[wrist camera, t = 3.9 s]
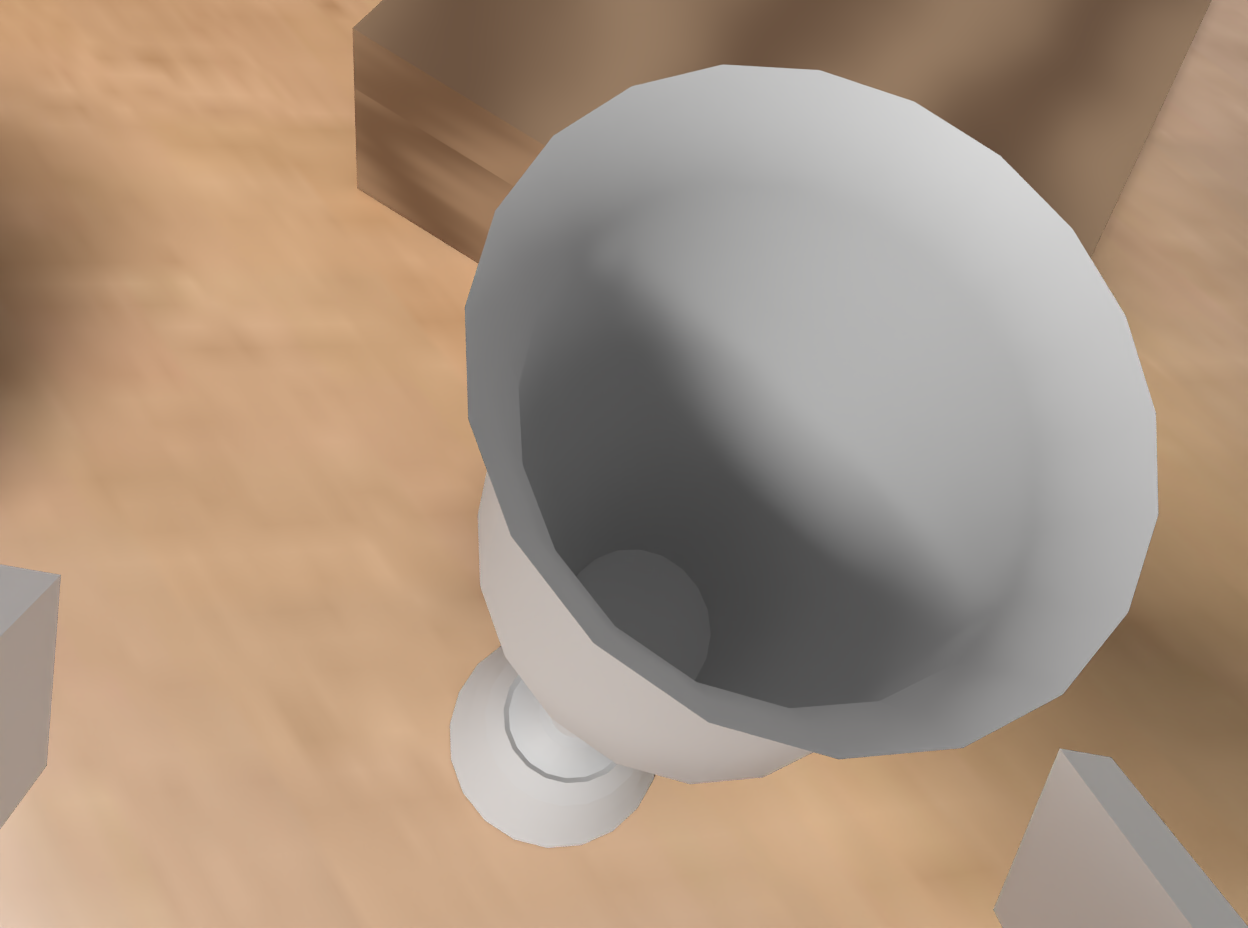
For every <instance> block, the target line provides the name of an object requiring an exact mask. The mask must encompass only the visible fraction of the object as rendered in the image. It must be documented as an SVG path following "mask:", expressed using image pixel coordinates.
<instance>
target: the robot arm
mask: <svg viewBox="0 0 1248 928" xmlns="http://www.w3.org/2000/svg"><path fill="white" fill-rule="evenodd" d="M60 579H61V575H58V574H52V573H47V572H41V571H35V570H29V569H24V568H18V567H12V566H6V565H1V564H0V829H1V827H2V826H3V825H4V823H5V822H6V821H7V819H8V818H9V816H10V815H11V814H12V812H13V811H14V810H15V808H16V807H17V805H18V804H19V803H20V801H21V800H22V799H23V797H24V796H25V795H26V793H27V792H28V790H29V789H30V788H31V786H32V785H33V784H34V782H35V781H36V780H37V778H38V777H39V775H40V774H41V773H42V771H43V770H44V769H45V767H46V766H47V755H48V741H49V728H50V714H51V701H52V687H53V674H54V660H55V647H56V633H57V620H58V606H59V593H60ZM993 910H994V912H995V914H996V916H997V918H998V920H999V922H1000V924H1001V925H1002V927H1003V928H1248V926H1247V925H1246V924H1245V922H1244V921H1243V920H1242V919H1241V917H1240V916H1239V915H1238V914H1237V912H1236V911H1235V910H1234V909H1233V908H1232V906H1231V905H1230V904H1229V903H1228V901H1227V900H1226V899H1225V898H1224V896H1223V895H1222V894H1221V893H1220V891H1219V890H1218V889H1217V888H1216V886H1215V885H1214V884H1213V883H1212V882H1211V880H1210V879H1209V878H1208V877H1207V875H1206V874H1205V873H1204V872H1203V870H1202V869H1201V868H1200V867H1199V865H1198V864H1197V863H1196V862H1195V861H1194V859H1193V858H1192V857H1191V856H1190V854H1189V853H1188V852H1187V851H1186V849H1185V848H1184V847H1183V846H1182V844H1181V843H1180V842H1179V841H1178V839H1177V838H1176V837H1175V836H1174V835H1173V833H1172V832H1171V831H1170V830H1169V828H1168V827H1167V826H1166V825H1165V823H1164V822H1163V821H1162V820H1161V818H1160V817H1159V816H1158V815H1157V814H1156V812H1155V811H1154V810H1153V809H1152V807H1151V806H1150V805H1149V804H1148V802H1147V801H1146V800H1145V799H1144V797H1143V796H1142V795H1141V794H1140V792H1139V791H1138V790H1137V789H1136V788H1135V786H1134V785H1133V784H1132V783H1131V781H1130V780H1129V779H1128V778H1127V776H1126V775H1125V774H1124V773H1123V771H1122V770H1121V769H1120V768H1119V767H1118V765H1117V764H1116V763H1115V762H1114V760H1113V759H1112V758H1111V757H1106V756H1100V755H1095V754H1089V753H1083V752H1077V751H1072V750H1066V749H1059V751H1058V754H1057V756H1056V758H1055V761H1054V763H1053V766H1052V768H1051V771H1050V773H1049V775H1048V778H1047V780H1046V783H1045V785H1044V788H1043V790H1042V792H1041V795H1040V797H1039V800H1038V802H1037V805H1036V807H1035V809H1034V812H1033V814H1032V817H1031V819H1030V822H1029V824H1028V827H1027V829H1026V831H1025V834H1024V836H1023V839H1022V841H1021V844H1020V846H1019V848H1018V851H1017V853H1016V856H1015V858H1014V861H1013V863H1012V865H1011V868H1010V870H1009V873H1008V875H1007V878H1006V880H1005V882H1004V885H1003V887H1002V890H1001V892H1000V895H999V897H998V899H997V902H996V904H995V907H994V909H993Z"/></svg>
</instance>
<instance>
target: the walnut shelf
mask: <svg viewBox="0 0 1248 928" xmlns="http://www.w3.org/2000/svg"><path fill="white" fill-rule="evenodd" d="M1210 2H1211V0H383V1H382V2H380V3H379V4H378V5H377V6H376V7H375V8H374V9H373V10H372V11H371V12H370V13H369V14H368V15H366V16H365V17H364V18H363V19H362V20H361V21H360V22H359V23H358V24H357V25H356V26H355V27H354V28H353V56H354V91H355V126H356V160H357V188H358V189H360V190H361V191H363V192H364V193H366V194H368V195H369V196H371V197H373V198H374V199H376V200H377V201H379V202H381V203H382V204H384V205H385V206H387V207H389V208H390V209H392V210H393V211H395V212H397V213H398V214H400V215H401V216H403V217H405V218H406V219H408V220H410V221H411V222H413V223H414V224H416V225H418V226H419V227H421V228H422V229H424V230H426V231H427V232H429V233H430V234H432V235H434V236H435V237H437V238H438V239H440V240H442V241H443V242H445V243H446V244H448V245H450V246H451V247H453V248H455V249H456V250H458V251H459V252H461V253H463V254H464V255H466V256H467V257H469V258H471V259H472V260H474V261H475V262H477V263H479V261H480V258H481V255H482V251H483V248H484V245H485V242H486V239H487V235H488V232H489V229H490V226H491V223H492V220H493V216H494V213H495V210H496V209H497V208H498V207H499V205H500V204H501V203H502V201H503V200H504V199H505V197H506V196H507V195H508V194H509V192H510V191H511V190H512V188H513V187H514V186H515V185H516V183H517V182H518V181H519V179H520V178H521V177H522V176H523V174H524V173H525V172H526V170H527V169H528V168H529V166H530V165H531V164H532V163H533V161H534V160H535V159H536V157H537V156H538V155H539V154H540V152H541V151H542V150H543V148H544V147H545V146H546V144H547V143H548V142H549V141H550V139H551V138H552V137H553V136H554V135H555V134H557V133H558V132H560V131H562V130H563V129H565V128H566V127H568V126H569V125H571V124H573V123H574V122H576V121H577V120H579V119H581V118H582V117H584V116H585V115H587V114H589V113H590V112H592V111H593V110H595V109H596V108H598V107H600V106H601V105H603V104H604V103H606V102H608V101H609V100H611V99H612V98H614V97H615V96H617V95H619V94H620V93H622V92H623V91H625V90H627V89H628V88H630V87H631V86H635V85H639V84H644V83H648V82H652V81H656V80H660V79H664V78H669V77H673V76H677V75H681V74H685V73H689V72H694V71H698V70H702V69H706V68H710V67H714V66H719V65H740V66H757V67H774V68H791V69H809V70H821V71H824V72H827V73H830V74H833V75H836V76H839V77H842V78H845V79H848V80H851V81H854V82H857V83H860V84H863V85H866V86H869V87H872V88H875V89H878V90H881V91H884V92H887V93H890V94H893V95H896V96H899V97H902V98H905V99H908V100H911V101H914V102H916V103H917V104H919V105H920V106H922V107H924V108H925V109H927V110H928V111H930V112H932V113H933V114H935V115H936V116H938V117H940V118H941V119H943V120H944V121H946V122H947V123H949V124H951V125H952V126H954V127H955V128H957V129H959V130H960V131H962V132H963V133H965V134H967V135H968V136H970V137H971V138H973V139H975V140H976V141H978V142H979V143H981V144H982V145H984V146H986V147H987V148H989V149H990V150H992V151H994V152H995V153H997V154H998V155H1000V156H1001V157H1002V158H1003V159H1004V160H1005V161H1006V162H1007V163H1008V164H1009V165H1010V166H1011V167H1012V168H1013V169H1014V170H1015V171H1016V172H1017V173H1018V174H1019V175H1020V176H1021V177H1022V178H1023V179H1024V180H1025V181H1026V182H1027V183H1028V184H1029V185H1030V186H1031V187H1032V188H1033V189H1034V190H1035V191H1036V192H1037V193H1038V194H1039V195H1040V196H1041V197H1042V198H1043V199H1044V200H1045V201H1046V202H1047V203H1048V204H1049V205H1050V206H1051V208H1052V209H1053V210H1054V211H1055V212H1056V213H1057V214H1058V215H1059V216H1060V217H1061V218H1062V219H1063V220H1064V221H1065V222H1066V223H1067V224H1068V225H1069V226H1070V227H1071V228H1072V229H1073V230H1074V232H1075V234H1076V235H1077V237H1078V239H1079V240H1080V242H1081V244H1082V245H1083V247H1084V248H1085V250H1086V252H1087V253H1088V255H1089V257H1090V258H1091V256H1092V254H1093V252H1094V249H1095V247H1096V245H1097V243H1098V241H1099V239H1100V237H1101V235H1102V232H1103V230H1104V228H1105V226H1106V224H1107V222H1108V220H1109V218H1110V215H1111V213H1112V211H1113V209H1114V207H1115V205H1116V203H1117V200H1118V198H1119V196H1120V194H1121V192H1122V190H1123V188H1124V186H1125V183H1126V181H1127V179H1128V177H1129V175H1130V173H1131V171H1132V169H1133V166H1134V164H1135V162H1136V160H1137V158H1138V156H1139V154H1140V152H1141V149H1142V147H1143V145H1144V143H1145V141H1146V139H1147V137H1148V134H1149V132H1150V130H1151V128H1152V126H1153V124H1154V122H1155V120H1156V117H1157V115H1158V113H1159V111H1160V109H1161V107H1162V105H1163V103H1164V100H1165V98H1166V96H1167V94H1168V92H1169V90H1170V88H1171V86H1172V83H1173V81H1174V79H1175V77H1176V75H1177V73H1178V71H1179V68H1180V66H1181V64H1182V62H1183V60H1184V58H1185V56H1186V54H1187V51H1188V49H1189V47H1190V45H1191V43H1192V41H1193V39H1194V37H1195V34H1196V32H1197V30H1198V28H1199V26H1200V24H1201V22H1202V20H1203V17H1204V15H1205V13H1206V11H1207V9H1208V7H1209V5H1210Z"/></svg>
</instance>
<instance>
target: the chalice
mask: <svg viewBox="0 0 1248 928" xmlns="http://www.w3.org/2000/svg"><path fill="white" fill-rule="evenodd" d="M465 328H466V359H467V391H468V419H469V422H470V425H471V428H472V430H473V433H474V436H475V439H476V441H477V444H478V447H479V450H480V452H481V455H482V458H483V461H484V463H485V466H486V469H487V474H486V478H485V483H484V488H483V493H482V497H481V502H480V507H479V512H478V537H479V565H480V587H481V590H482V593H483V595H484V598H485V601H486V604H487V607H488V610H489V612H490V615H491V618H492V621H493V624H494V627H495V630H496V632H497V635H498V638H499V641H500V644H501V646H500V647H499V648H498V649H496V650H495V651H494V652H493V653H491V654H490V655H489V656H488V657H486V658H485V659H484V660H483V661H481V662H480V663H479V664H478V665H477V666H476V668H475V669H474V671H473V672H472V674H471V675H470V677H469V678H468V680H467V681H466V683H465V684H464V686H463V687H462V689H461V690H460V692H459V695H458V698H457V702H456V705H455V709H454V712H453V716H452V719H451V723H450V742H451V761H452V764H453V766H454V769H455V772H456V775H457V777H458V780H459V783H460V786H461V788H462V791H463V793H464V794H465V796H466V797H467V798H468V800H469V801H470V802H471V803H472V805H473V806H474V807H475V808H476V810H477V811H478V812H479V814H480V815H481V816H482V817H483V819H484V820H485V821H487V822H488V823H490V824H491V825H493V826H494V827H496V828H497V829H499V830H500V831H502V832H503V833H505V834H507V835H508V836H510V837H511V838H513V839H514V840H518V841H522V842H526V843H530V844H534V845H538V846H542V847H546V848H552V847H564V846H575V845H583V844H585V843H587V842H589V841H592V840H594V839H596V838H598V837H600V836H603V835H605V834H607V833H609V832H612V831H613V830H614V829H615V828H617V827H618V826H619V825H620V824H621V823H622V822H623V821H624V820H625V819H626V818H627V817H628V816H629V815H630V814H632V813H633V812H634V811H635V810H636V809H637V808H638V806H639V804H640V803H641V801H642V799H643V797H644V795H645V793H646V792H647V790H648V788H649V786H650V784H651V782H652V781H653V779H654V775H659V776H662V777H666V778H670V779H673V780H677V781H680V782H684V783H688V784H697V783H708V782H719V781H729V780H740V779H751V778H762V777H765V776H767V775H769V774H771V773H773V772H775V771H777V770H779V769H781V768H783V767H785V766H787V765H789V764H791V763H793V762H795V761H797V760H799V759H801V758H803V757H805V756H807V755H809V754H811V753H813V752H815V753H818V754H822V755H825V756H829V757H832V758H836V759H847V758H858V757H869V756H880V755H891V754H902V753H913V752H924V751H935V750H946V749H957V748H964V747H966V746H967V745H969V744H971V743H973V742H975V741H977V740H979V739H980V738H982V737H984V736H986V735H988V734H990V733H992V732H994V731H995V730H997V729H999V728H1001V727H1003V726H1005V725H1007V724H1009V723H1010V722H1012V721H1014V720H1016V719H1018V718H1020V717H1022V716H1023V715H1025V714H1027V713H1029V712H1031V711H1033V710H1035V709H1037V708H1038V707H1040V706H1042V705H1044V704H1046V703H1048V702H1050V701H1052V700H1053V699H1055V698H1057V697H1059V696H1061V695H1063V694H1064V692H1065V691H1066V690H1067V689H1068V687H1069V686H1070V685H1071V683H1072V682H1073V681H1074V680H1075V678H1076V677H1077V676H1078V675H1079V673H1080V672H1081V671H1082V670H1083V668H1084V667H1085V666H1086V665H1087V663H1088V662H1089V661H1090V660H1091V658H1092V657H1093V656H1094V655H1095V653H1096V652H1097V651H1098V650H1099V648H1100V647H1101V646H1102V645H1103V643H1104V642H1105V641H1106V640H1107V638H1108V637H1109V636H1110V634H1111V633H1112V632H1113V631H1114V629H1115V628H1116V627H1117V626H1118V624H1119V623H1120V622H1121V621H1122V619H1123V618H1124V617H1125V616H1126V614H1127V613H1128V612H1129V608H1130V605H1131V602H1132V599H1133V595H1134V592H1135V589H1136V586H1137V582H1138V579H1139V576H1140V573H1141V569H1142V566H1143V563H1144V560H1145V556H1146V553H1147V550H1148V547H1149V543H1150V540H1151V537H1152V534H1153V530H1154V527H1155V524H1156V520H1157V517H1158V480H1157V439H1156V412H1155V409H1154V406H1153V402H1152V399H1151V396H1150V393H1149V390H1148V386H1147V383H1146V380H1145V377H1144V373H1143V370H1142V367H1141V364H1140V360H1139V357H1138V354H1137V351H1136V348H1135V344H1134V341H1133V338H1132V335H1131V331H1130V328H1129V325H1128V322H1127V319H1126V316H1125V314H1124V313H1123V311H1122V309H1121V308H1120V306H1119V304H1118V303H1117V301H1116V299H1115V298H1114V296H1113V294H1112V293H1111V291H1110V290H1109V288H1108V286H1107V285H1106V283H1105V281H1104V280H1103V278H1102V276H1101V275H1100V273H1099V271H1098V270H1097V268H1096V267H1095V265H1094V263H1093V262H1092V260H1091V258H1090V257H1089V255H1088V253H1087V252H1086V250H1085V248H1084V247H1083V245H1082V244H1081V242H1080V240H1079V239H1078V237H1077V235H1076V234H1075V232H1074V230H1073V229H1072V228H1071V227H1070V226H1069V225H1068V224H1067V223H1066V222H1065V221H1064V220H1063V219H1062V218H1061V217H1060V216H1059V215H1058V214H1057V213H1056V212H1055V211H1054V210H1053V209H1052V208H1051V206H1050V205H1049V204H1048V203H1047V202H1046V201H1045V200H1044V199H1043V198H1042V197H1041V196H1040V195H1039V194H1038V193H1037V192H1036V191H1035V190H1034V189H1033V188H1032V187H1031V186H1030V185H1029V184H1028V183H1027V182H1026V181H1025V180H1024V179H1023V178H1022V177H1021V176H1020V175H1019V174H1018V173H1017V172H1016V171H1015V170H1014V169H1013V168H1012V167H1011V166H1010V165H1009V164H1008V163H1007V162H1006V161H1005V160H1004V159H1003V158H1002V157H1001V156H1000V155H998V154H997V153H995V152H994V151H992V150H990V149H989V148H987V147H986V146H984V145H982V144H981V143H979V142H978V141H976V140H975V139H973V138H971V137H970V136H968V135H967V134H965V133H963V132H962V131H960V130H959V129H957V128H955V127H954V126H952V125H951V124H949V123H947V122H946V121H944V120H943V119H941V118H940V117H938V116H936V115H935V114H933V113H932V112H930V111H928V110H927V109H925V108H924V107H922V106H920V105H919V104H917V103H916V102H914V101H911V100H908V99H905V98H902V97H899V96H896V95H893V94H890V93H887V92H884V91H881V90H878V89H875V88H872V87H869V86H866V85H863V84H860V83H857V82H854V81H851V80H848V79H845V78H842V77H839V76H836V75H833V74H830V73H827V72H824V71H821V70H809V69H791V68H774V67H757V66H740V65H719V66H714V67H710V68H706V69H702V70H698V71H694V72H689V73H685V74H681V75H677V76H673V77H669V78H664V79H660V80H656V81H652V82H648V83H644V84H639V85H635V86H631V87H630V88H628V89H627V90H625V91H623V92H622V93H620V94H619V95H617V96H615V97H614V98H612V99H611V100H609V101H608V102H606V103H604V104H603V105H601V106H600V107H598V108H596V109H595V110H593V111H592V112H590V113H589V114H587V115H585V116H584V117H582V118H581V119H579V120H577V121H576V122H574V123H573V124H571V125H569V126H568V127H566V128H565V129H563V130H562V131H560V132H558V133H557V134H555V135H554V136H553V137H552V138H551V139H550V141H549V142H548V143H547V144H546V146H545V147H544V148H543V150H542V151H541V152H540V154H539V155H538V156H537V157H536V159H535V160H534V161H533V163H532V164H531V165H530V166H529V168H528V169H527V170H526V172H525V173H524V174H523V176H522V177H521V178H520V179H519V181H518V182H517V183H516V185H515V186H514V187H513V188H512V190H511V191H510V192H509V194H508V195H507V196H506V197H505V199H504V200H503V201H502V203H501V204H500V205H499V207H498V208H497V209H496V210H495V213H494V216H493V220H492V223H491V226H490V229H489V232H488V235H487V239H486V242H485V245H484V248H483V251H482V255H481V258H480V261H479V264H478V267H477V270H476V274H475V277H474V280H473V283H472V286H471V289H470V293H469V296H468V299H467V302H466V305H465Z"/></svg>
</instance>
